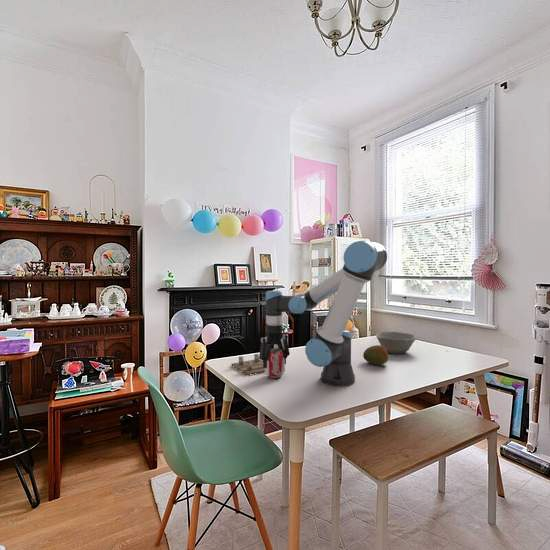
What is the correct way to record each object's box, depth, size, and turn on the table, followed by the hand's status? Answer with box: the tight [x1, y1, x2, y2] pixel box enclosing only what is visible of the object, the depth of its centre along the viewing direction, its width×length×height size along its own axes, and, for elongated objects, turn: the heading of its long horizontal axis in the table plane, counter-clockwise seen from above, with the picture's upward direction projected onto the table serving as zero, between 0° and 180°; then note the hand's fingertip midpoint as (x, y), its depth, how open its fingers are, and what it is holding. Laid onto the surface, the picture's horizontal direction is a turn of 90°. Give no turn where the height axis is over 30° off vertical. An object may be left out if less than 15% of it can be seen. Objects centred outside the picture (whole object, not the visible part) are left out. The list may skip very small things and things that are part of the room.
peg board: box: [230, 353, 265, 376], centre depth 166 cm, size 18×16×5 cm
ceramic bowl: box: [375, 331, 418, 355], centre depth 195 cm, size 22×23×10 cm
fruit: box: [362, 344, 389, 366], centre depth 172 cm, size 12×13×10 cm
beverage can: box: [267, 347, 285, 379], centre depth 152 cm, size 8×8×12 cm
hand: (274, 372), depth 152 cm, fingers closed on beverage can, 8 cm apart
